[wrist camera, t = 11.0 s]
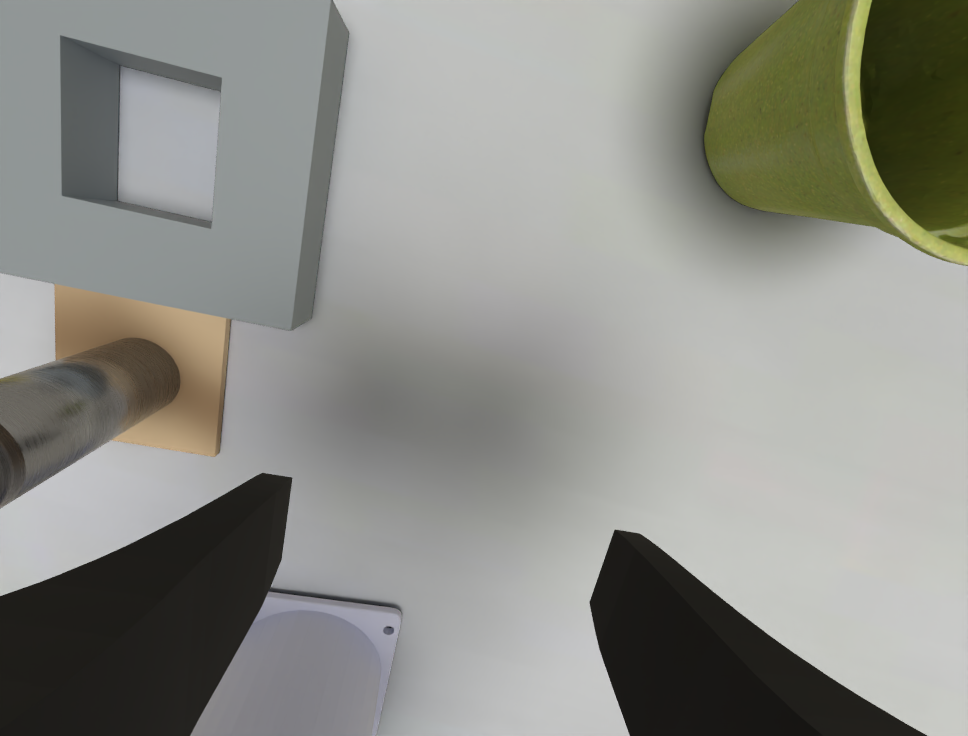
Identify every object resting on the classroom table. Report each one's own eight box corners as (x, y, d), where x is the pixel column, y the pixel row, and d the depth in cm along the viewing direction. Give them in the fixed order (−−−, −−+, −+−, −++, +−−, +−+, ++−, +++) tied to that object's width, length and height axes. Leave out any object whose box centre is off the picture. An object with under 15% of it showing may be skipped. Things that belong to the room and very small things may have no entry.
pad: (219, 452, 20) (214, 456, 19) (64, 426, 19) (56, 431, 19) (231, 314, 18) (226, 316, 18) (63, 280, 17) (54, 281, 17)
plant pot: (827, -92, 16) (1241, -446, 8) (940, 140, 18) (1349, 64, 10) (609, 107, 17) (761, -8, 9) (742, 300, 20) (959, 351, 11)
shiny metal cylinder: (185, 411, 19) (2, 537, 11) (105, 410, 18) (-138, 537, 11) (175, 338, 18) (-31, 419, 10) (91, 336, 18) (-184, 416, 10)
